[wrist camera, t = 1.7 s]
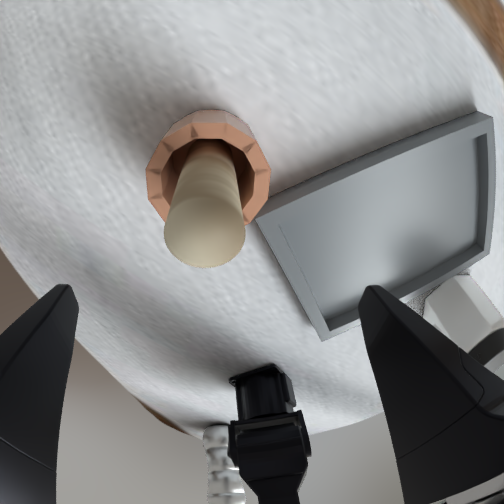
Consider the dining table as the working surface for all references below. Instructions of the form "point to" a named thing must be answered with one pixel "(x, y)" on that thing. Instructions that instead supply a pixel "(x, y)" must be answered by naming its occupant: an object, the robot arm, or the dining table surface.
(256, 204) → the cup
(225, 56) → the dining table surface
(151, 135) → the dining table surface
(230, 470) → the plastic bottle
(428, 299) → the jar
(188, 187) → the pin
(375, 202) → the tray
